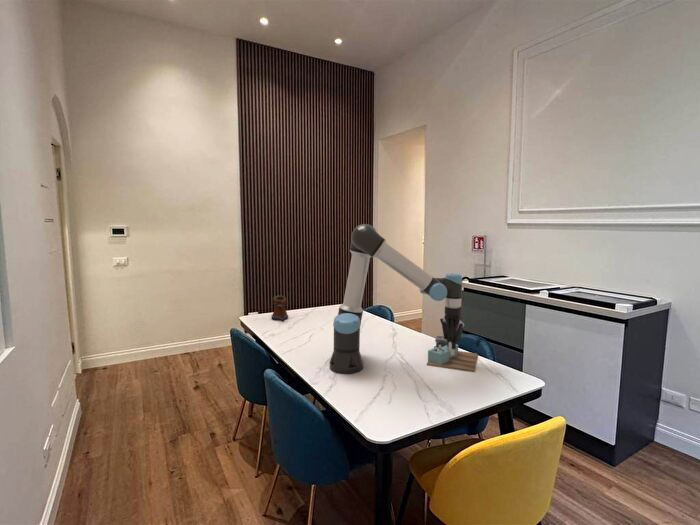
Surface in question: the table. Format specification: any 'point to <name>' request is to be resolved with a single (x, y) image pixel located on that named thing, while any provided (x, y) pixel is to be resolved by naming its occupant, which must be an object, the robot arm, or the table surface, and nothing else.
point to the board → (459, 362)
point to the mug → (279, 308)
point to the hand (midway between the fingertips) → (451, 354)
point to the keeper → (440, 341)
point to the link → (441, 355)
